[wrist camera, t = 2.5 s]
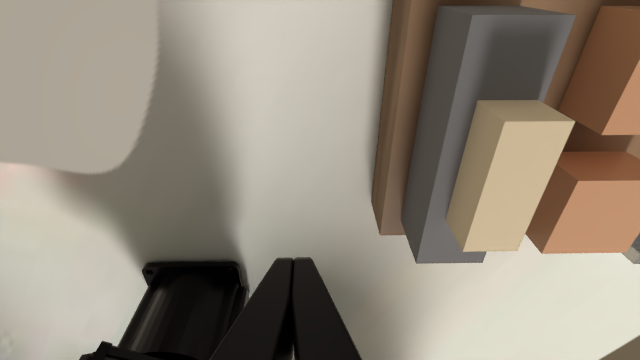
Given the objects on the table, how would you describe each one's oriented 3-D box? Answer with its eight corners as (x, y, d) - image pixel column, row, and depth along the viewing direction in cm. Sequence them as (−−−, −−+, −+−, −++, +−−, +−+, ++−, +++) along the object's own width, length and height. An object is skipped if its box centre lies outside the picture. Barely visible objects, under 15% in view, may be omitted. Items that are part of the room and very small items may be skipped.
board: (371, 202, 20) (379, 235, 18) (396, -28, 14) (415, -28, 11) (609, 199, 21) (651, 231, 18) (742, -27, 14) (836, -26, 12)
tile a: (513, 219, 17) (541, 253, 15) (541, 151, 15) (578, 181, 13) (588, 218, 17) (626, 252, 15) (625, 151, 15) (676, 180, 13)
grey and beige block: (400, 220, 17) (428, 297, 13) (438, 5, 12) (503, 22, 8) (457, 220, 17) (502, 295, 13) (520, 5, 12) (627, 23, 8)
